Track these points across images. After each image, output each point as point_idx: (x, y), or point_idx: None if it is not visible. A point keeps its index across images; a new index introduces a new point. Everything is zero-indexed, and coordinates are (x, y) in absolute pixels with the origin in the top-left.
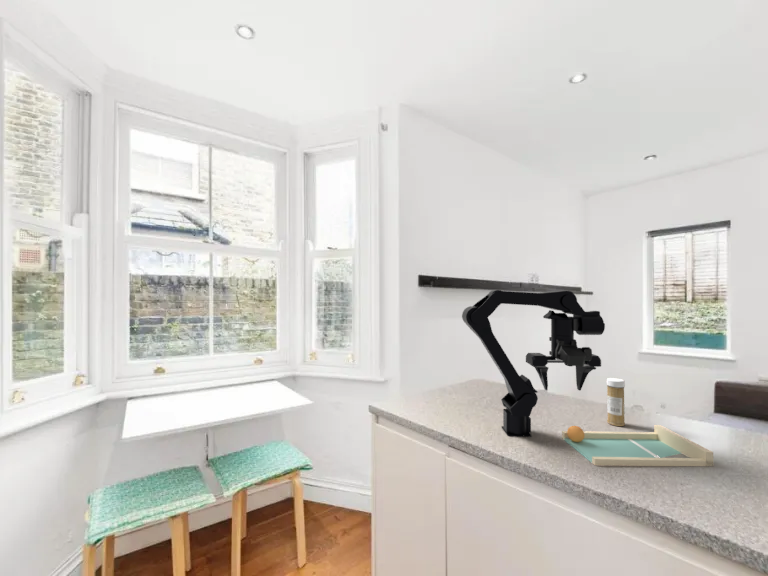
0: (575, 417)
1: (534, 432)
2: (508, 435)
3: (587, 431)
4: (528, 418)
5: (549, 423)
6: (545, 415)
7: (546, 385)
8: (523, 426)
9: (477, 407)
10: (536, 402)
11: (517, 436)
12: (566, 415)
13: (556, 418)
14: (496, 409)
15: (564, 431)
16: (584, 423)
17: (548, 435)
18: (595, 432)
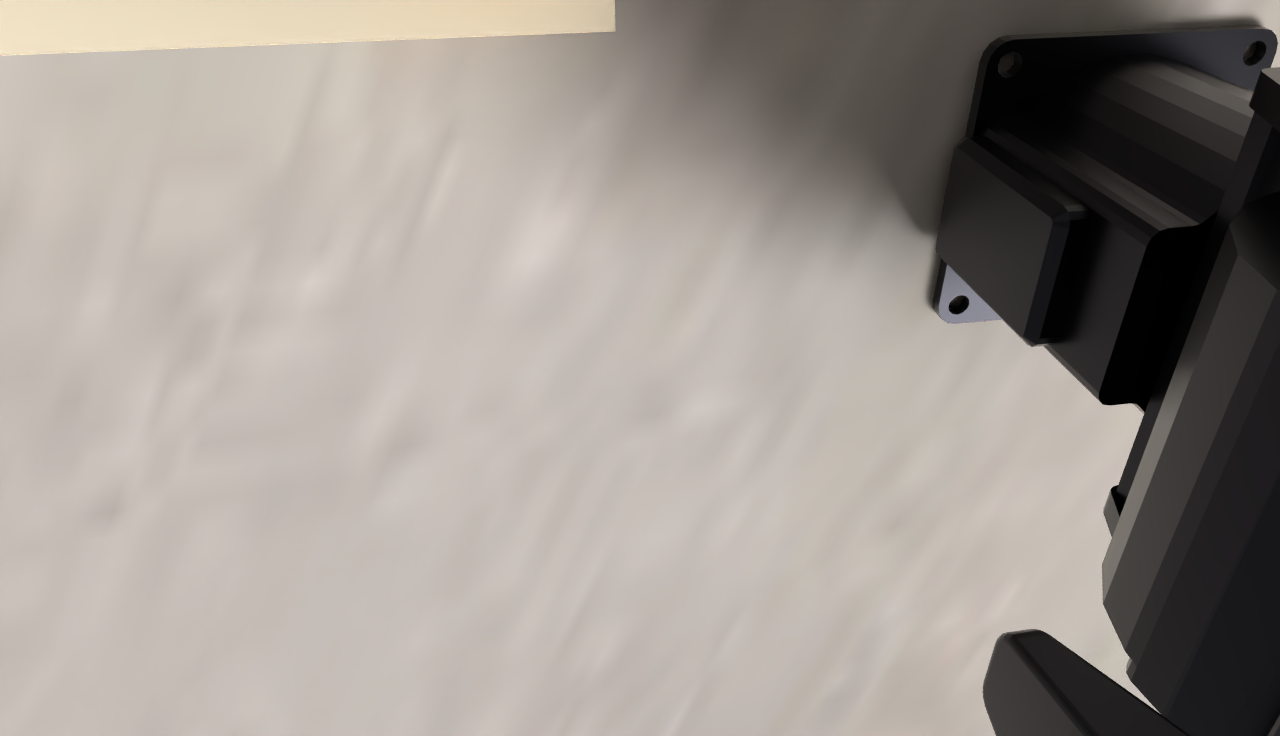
0: (170, 674)
1: (876, 185)
2: (1273, 33)
3: (185, 42)
4: (1112, 191)
5: (558, 472)
6: (511, 666)
7: (1127, 726)
8: (1148, 102)
9: None
10: (1247, 263)
11: (1164, 29)
12: (264, 705)
13: (415, 613)
14: (949, 712)
15: (585, 12)
16: (103, 532)
17: (742, 102)
18: (46, 9)
